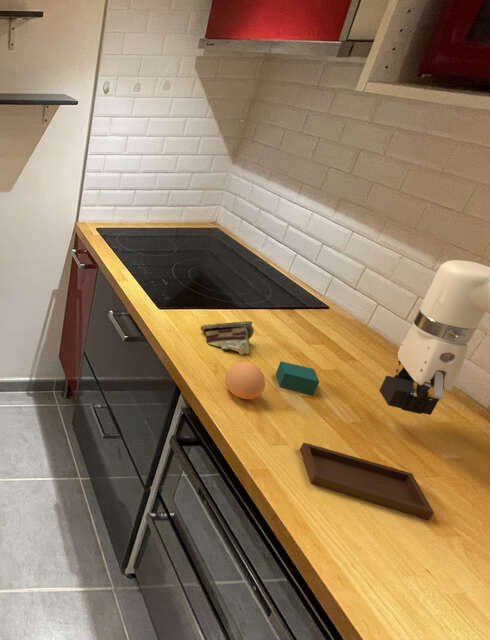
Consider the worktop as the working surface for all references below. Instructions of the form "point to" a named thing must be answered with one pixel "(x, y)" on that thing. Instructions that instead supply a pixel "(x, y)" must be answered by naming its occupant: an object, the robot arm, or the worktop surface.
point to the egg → (245, 380)
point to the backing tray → (365, 480)
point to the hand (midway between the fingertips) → (404, 400)
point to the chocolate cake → (230, 335)
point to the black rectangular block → (402, 392)
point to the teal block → (297, 378)
